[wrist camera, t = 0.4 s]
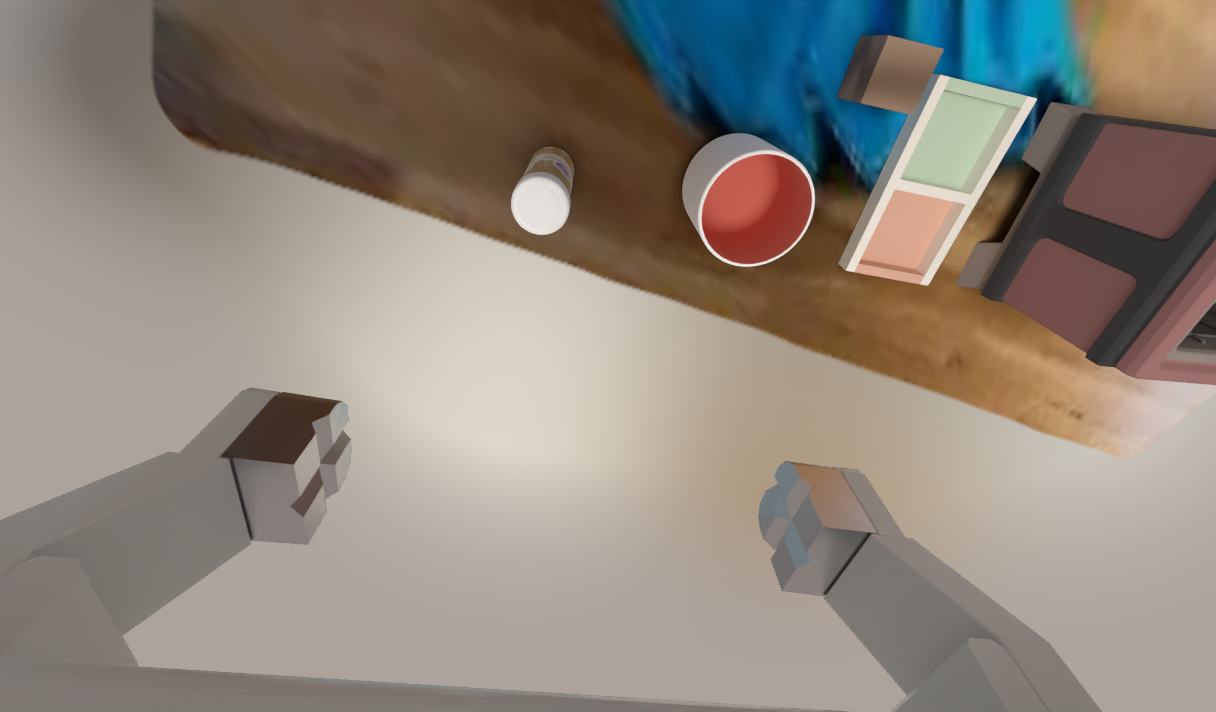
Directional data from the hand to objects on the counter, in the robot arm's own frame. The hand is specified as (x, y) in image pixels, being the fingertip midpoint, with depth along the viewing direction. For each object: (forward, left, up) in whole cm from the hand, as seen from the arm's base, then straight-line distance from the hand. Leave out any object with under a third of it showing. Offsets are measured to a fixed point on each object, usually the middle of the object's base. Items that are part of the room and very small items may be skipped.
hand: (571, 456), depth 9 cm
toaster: (-2, +61, -45) cm, 76 cm away
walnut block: (-9, +25, -45) cm, 53 cm away
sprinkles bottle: (+5, -3, -45) cm, 46 cm away
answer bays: (-1, +35, -45) cm, 57 cm away
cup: (+3, +15, -45) cm, 48 cm away
